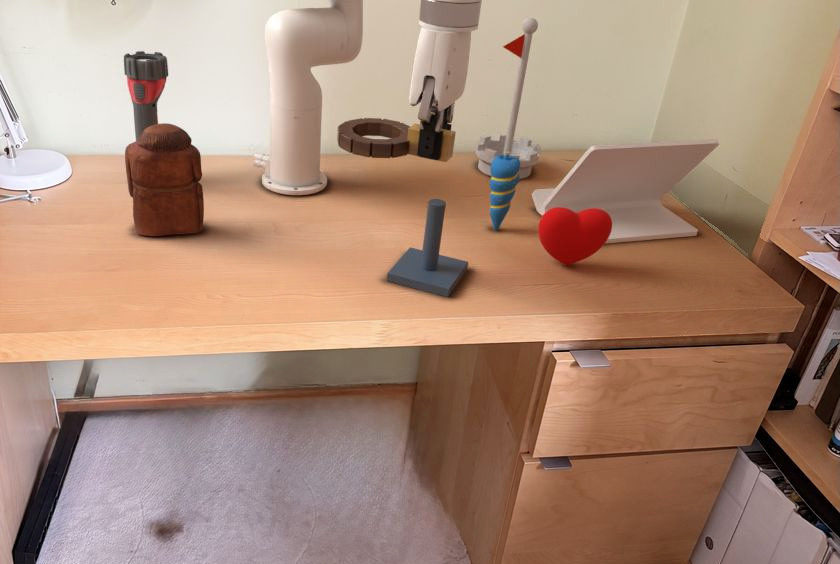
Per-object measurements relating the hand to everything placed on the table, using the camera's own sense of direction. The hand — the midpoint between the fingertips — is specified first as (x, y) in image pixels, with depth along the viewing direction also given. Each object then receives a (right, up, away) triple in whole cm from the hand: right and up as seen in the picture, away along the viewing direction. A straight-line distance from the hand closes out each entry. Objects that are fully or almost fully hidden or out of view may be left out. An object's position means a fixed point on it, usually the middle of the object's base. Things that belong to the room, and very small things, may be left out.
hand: (432, 153), depth 108 cm
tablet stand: (+38, -4, +37) cm, 53 cm away
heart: (+24, -14, +21) cm, 35 cm away
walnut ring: (-5, +1, +2) cm, 6 cm away
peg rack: (+1, -16, +15) cm, 22 cm away
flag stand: (+22, +10, +55) cm, 60 cm away
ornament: (+15, -7, +30) cm, 34 cm away
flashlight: (-48, +5, +42) cm, 64 cm away
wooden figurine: (-42, -7, +24) cm, 49 cm away
